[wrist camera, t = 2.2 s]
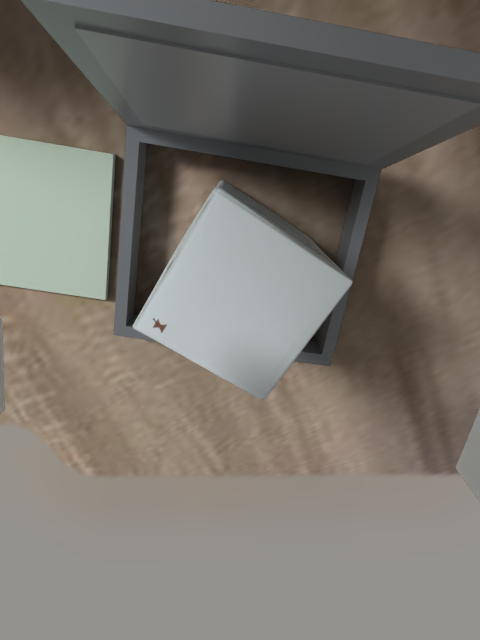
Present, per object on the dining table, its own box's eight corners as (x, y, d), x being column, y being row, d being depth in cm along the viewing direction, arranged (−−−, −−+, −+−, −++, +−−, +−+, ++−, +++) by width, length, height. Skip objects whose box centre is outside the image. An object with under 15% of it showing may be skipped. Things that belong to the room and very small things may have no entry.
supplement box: (252, 317, 32) (261, 408, 20) (167, 264, 31) (124, 329, 19) (311, 235, 30) (359, 283, 18) (222, 174, 29) (213, 183, 17)
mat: (-31, 276, 31) (-37, 279, 30) (-41, 128, 28) (-47, 127, 27) (107, 297, 32) (105, 300, 31) (115, 154, 28) (113, 154, 28)
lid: (16, -1, 12) (18, -37, 12) (126, 126, 25) (128, 110, 25) (543, 98, 13) (552, 66, 13) (381, 171, 26) (384, 155, 26)
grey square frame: (122, 322, 32) (113, 334, 30) (136, 128, 28) (126, 125, 25) (323, 351, 33) (330, 365, 31) (369, 168, 29) (381, 169, 26)
